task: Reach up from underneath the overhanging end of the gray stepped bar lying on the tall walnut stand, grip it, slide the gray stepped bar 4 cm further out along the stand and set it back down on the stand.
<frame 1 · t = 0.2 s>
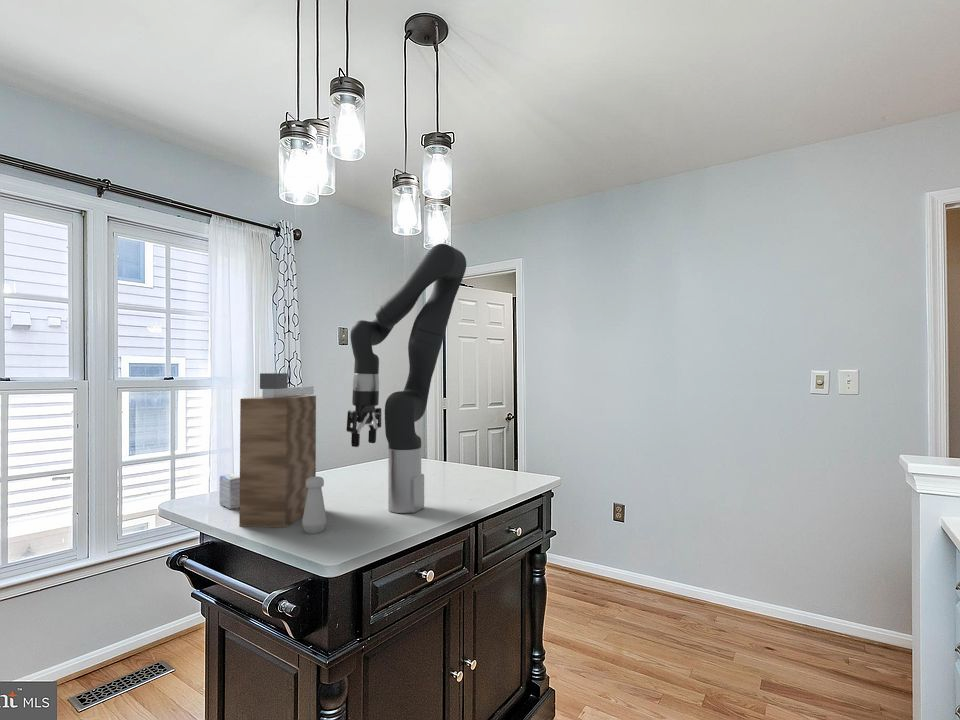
hand: (364, 444, 149), 17 cm above the table, tool pointing down, fingers open, 8 cm apart
stand: (279, 516, 136), on the table
medicine box: (232, 506, 148), on the table
salt shaker: (314, 531, 124), on the table
gray stepped bar: (290, 396, 143), point 32 cm above the table, touching stand
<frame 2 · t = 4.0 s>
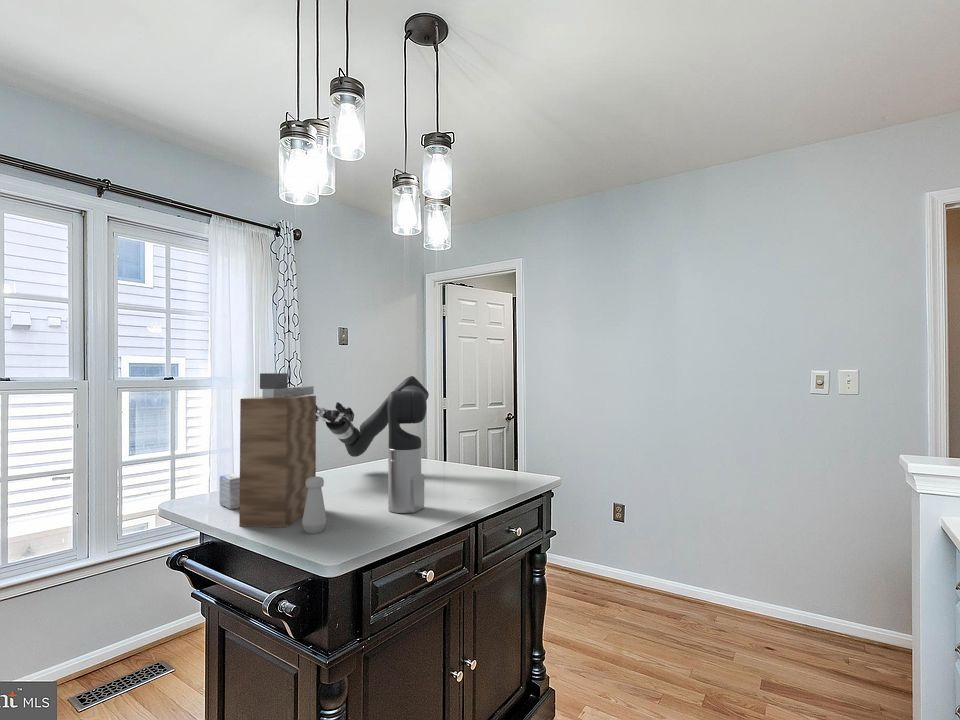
hand: (324, 404, 166), 28 cm above the table, tool pointing upward, fingers open, 8 cm apart
nothing on the table moved.
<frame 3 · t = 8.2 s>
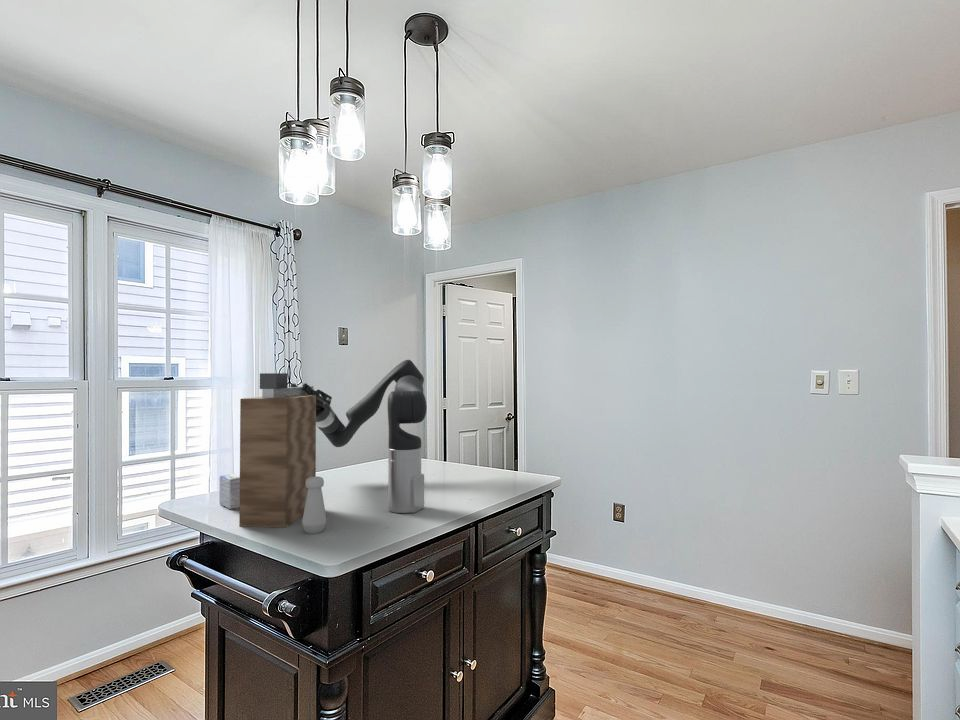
hand: (298, 386, 148), 35 cm above the table, tool pointing upward, fingers closed on gray stepped bar, 3 cm apart
gray stepped bar: (290, 396, 143), point 32 cm above the table, touching gripper, stand
everything else where it was.
when the fingers open (36 cm above the table, at t = 11.1 s): gray stepped bar stays where it is, resting on stand.
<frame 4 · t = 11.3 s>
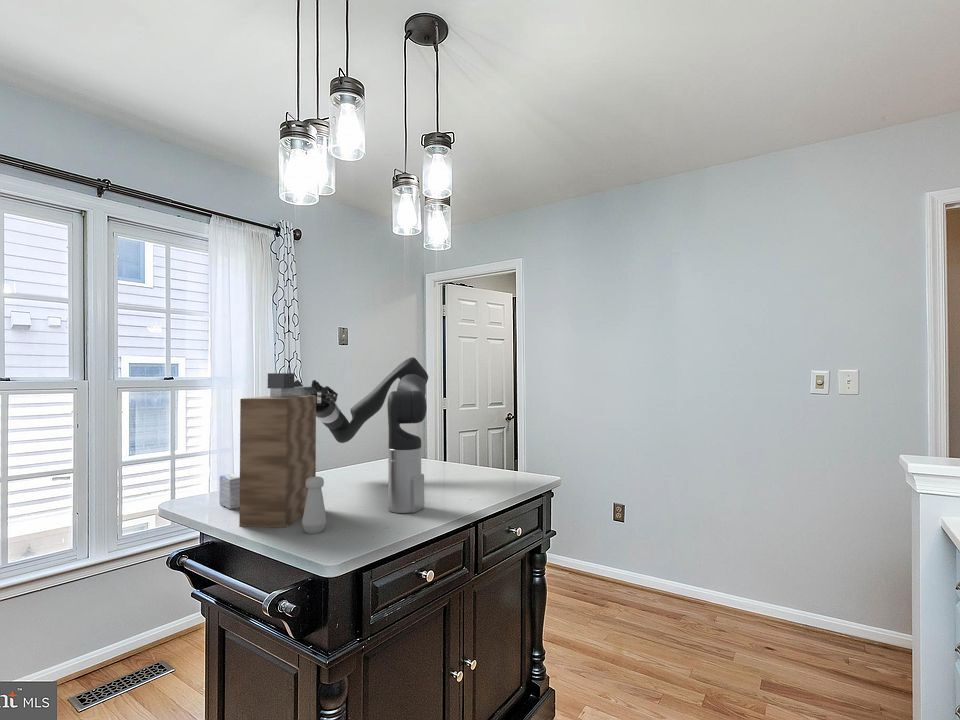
hand: (304, 382, 152), 36 cm above the table, tool pointing upward, fingers open, 4 cm apart
gray stepped bar: (296, 395, 147), point 32 cm above the table, touching stand
everything else where it was.
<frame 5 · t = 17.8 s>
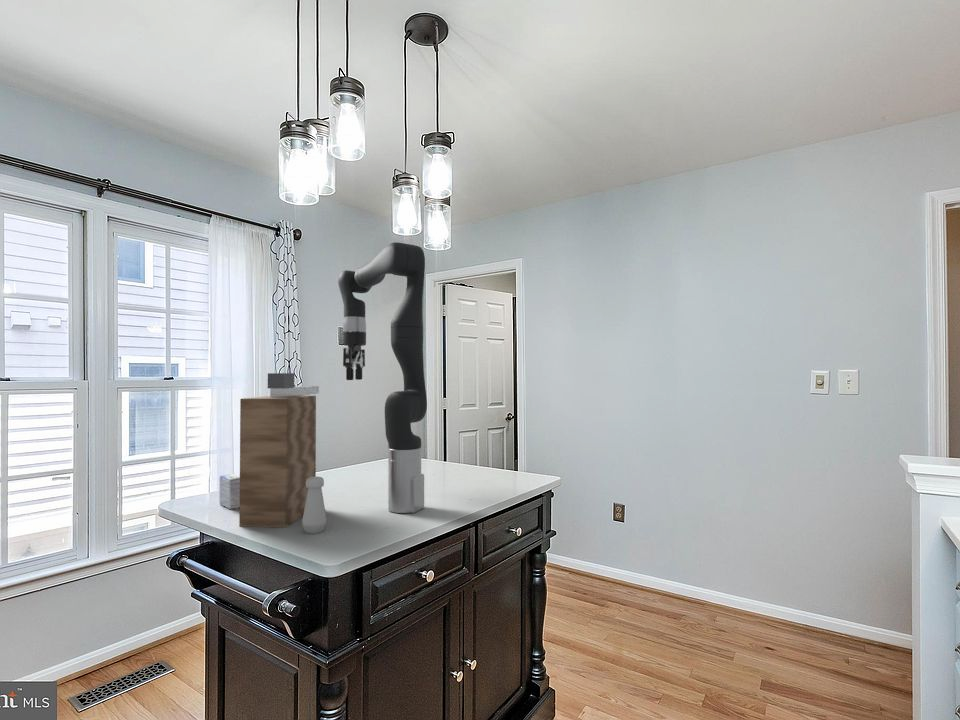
hand: (354, 379, 169), 36 cm above the table, tool pointing down, fingers open, 8 cm apart
nothing on the table moved.
at the end: gray stepped bar moved 4.0 cm from its start; gray stepped bar touching stand; the gripper is holding nothing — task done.
